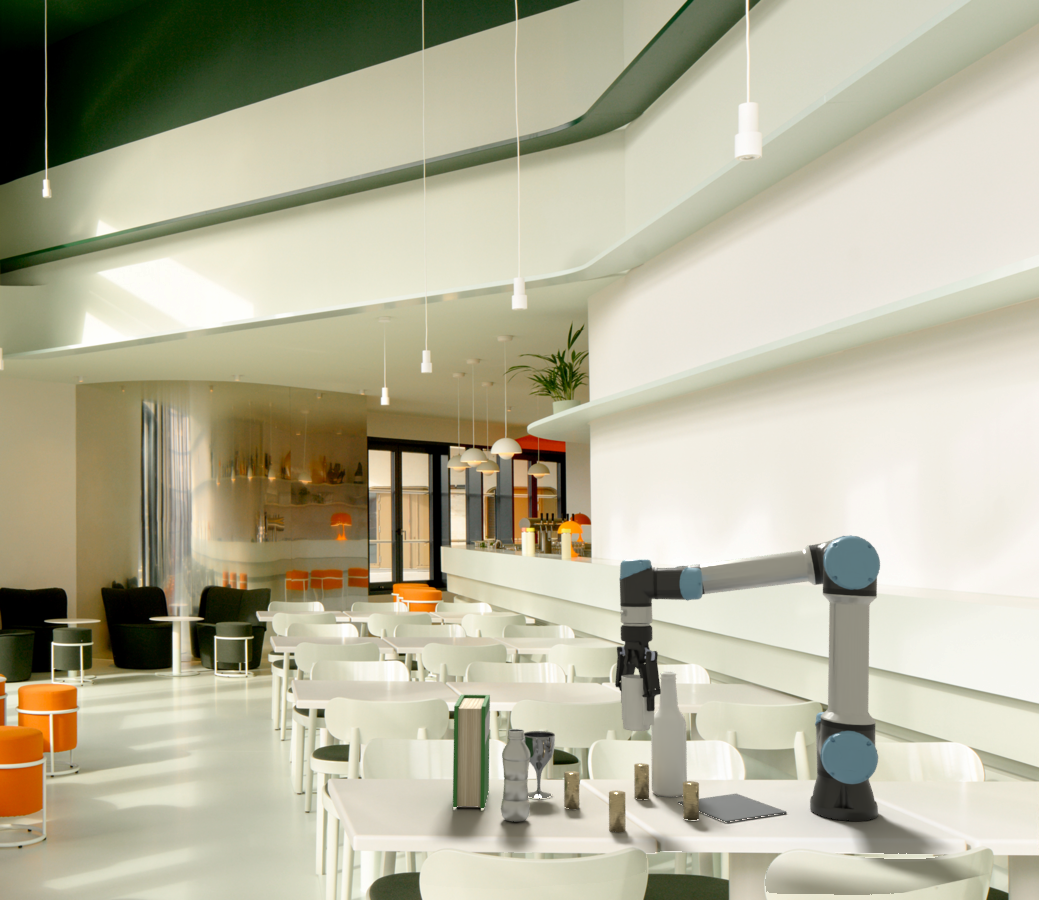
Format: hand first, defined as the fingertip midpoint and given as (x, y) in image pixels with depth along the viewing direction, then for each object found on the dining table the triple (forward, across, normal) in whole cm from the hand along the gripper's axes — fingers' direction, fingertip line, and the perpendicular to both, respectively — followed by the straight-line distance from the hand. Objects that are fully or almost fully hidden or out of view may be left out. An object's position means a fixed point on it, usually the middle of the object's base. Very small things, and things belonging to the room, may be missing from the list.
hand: (637, 721), depth 224 cm
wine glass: (+21, -24, -14) cm, 35 cm away
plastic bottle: (+21, -7, -29) cm, 36 cm away
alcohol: (+21, -12, +17) cm, 30 cm away
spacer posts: (+21, -1, -2) cm, 21 cm away
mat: (+21, +6, +22) cm, 31 cm away
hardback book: (+21, -27, -31) cm, 46 cm away
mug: (+2, 0, 0) cm, 2 cm away
